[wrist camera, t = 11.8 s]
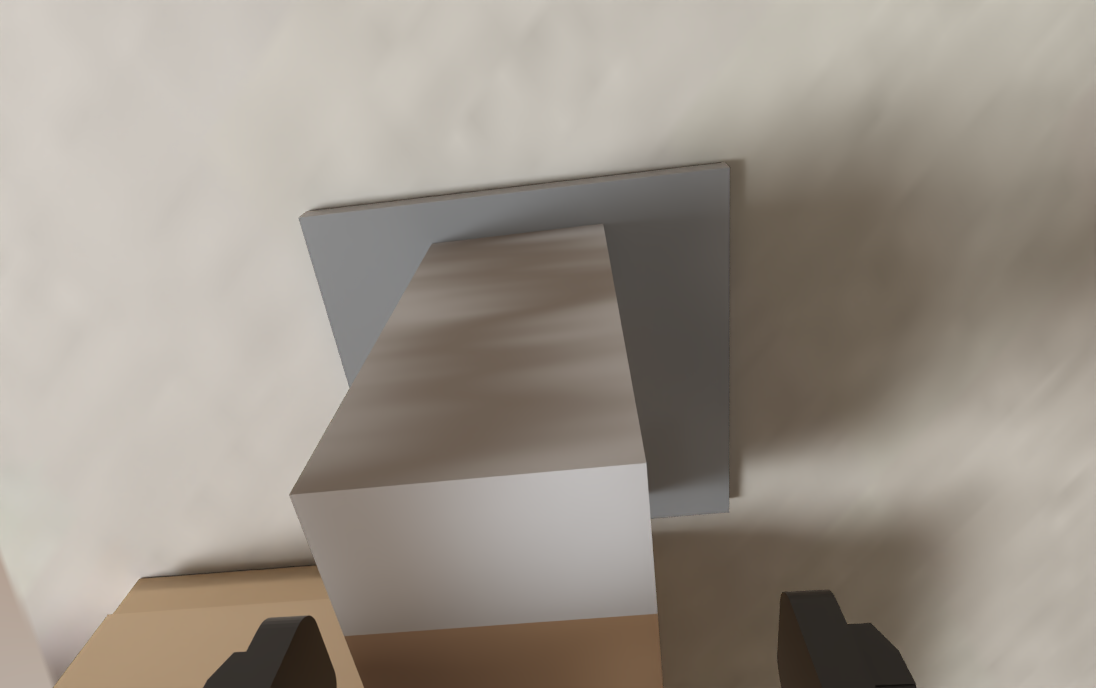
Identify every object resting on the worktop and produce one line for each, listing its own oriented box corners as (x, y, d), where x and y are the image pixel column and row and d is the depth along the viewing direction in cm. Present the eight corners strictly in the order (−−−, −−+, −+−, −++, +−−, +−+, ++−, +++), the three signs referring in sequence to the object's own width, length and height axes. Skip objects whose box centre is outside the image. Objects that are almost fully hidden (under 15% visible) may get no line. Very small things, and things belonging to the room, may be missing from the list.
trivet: (724, 162, 17) (729, 167, 16) (724, 499, 22) (728, 512, 21) (306, 211, 18) (298, 217, 17) (398, 525, 22) (394, 538, 22)
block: (603, 223, 17) (647, 462, 8) (628, 497, 21) (676, 860, 12) (431, 243, 17) (289, 494, 8) (489, 509, 21) (434, 870, 12)
